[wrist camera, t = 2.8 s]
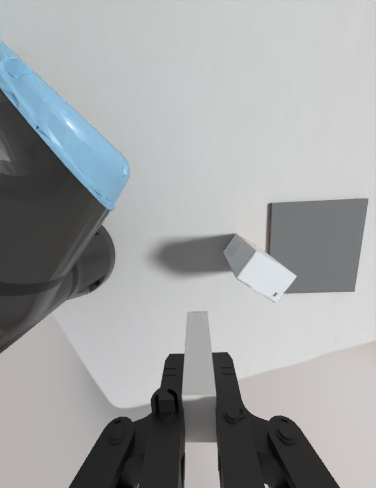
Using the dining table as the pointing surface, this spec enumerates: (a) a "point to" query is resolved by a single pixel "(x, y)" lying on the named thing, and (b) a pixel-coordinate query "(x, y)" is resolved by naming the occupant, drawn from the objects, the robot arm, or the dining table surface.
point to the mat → (318, 243)
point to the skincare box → (257, 268)
